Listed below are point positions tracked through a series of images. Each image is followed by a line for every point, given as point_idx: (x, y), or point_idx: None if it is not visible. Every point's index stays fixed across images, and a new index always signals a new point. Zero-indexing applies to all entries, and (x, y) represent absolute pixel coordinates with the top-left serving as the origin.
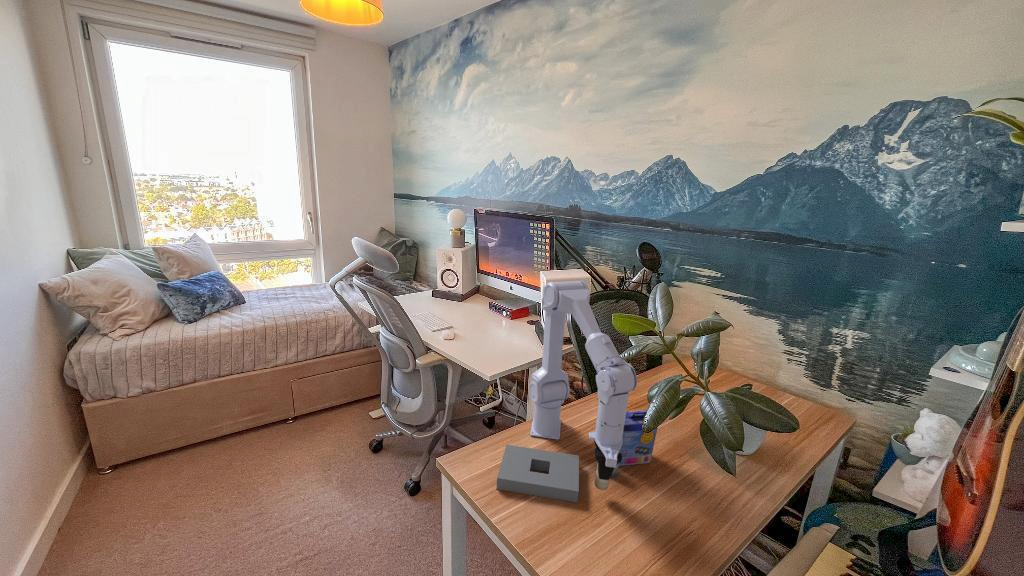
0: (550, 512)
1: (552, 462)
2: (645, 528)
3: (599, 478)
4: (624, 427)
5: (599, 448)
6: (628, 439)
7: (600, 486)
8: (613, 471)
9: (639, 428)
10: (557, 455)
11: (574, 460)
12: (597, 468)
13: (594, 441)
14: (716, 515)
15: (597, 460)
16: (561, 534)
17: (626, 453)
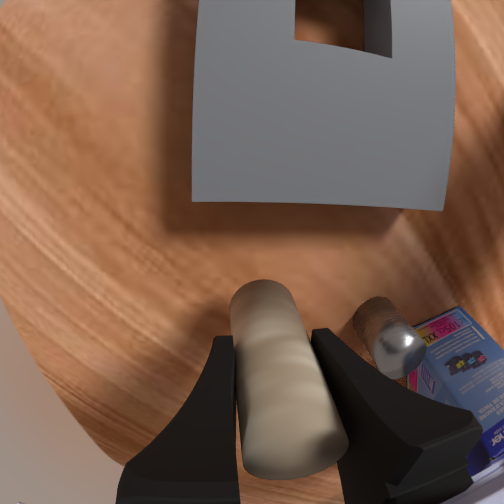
0: (120, 79)
1: (388, 69)
2: (152, 390)
3: (215, 338)
4: (484, 454)
5: (362, 426)
6: None
7: (231, 311)
8: (364, 339)
9: None
10: (437, 104)
11: (414, 186)
12: (265, 346)
13: (400, 446)
14: (245, 483)
15: (141, 453)
16: (35, 139)
17: (426, 383)
